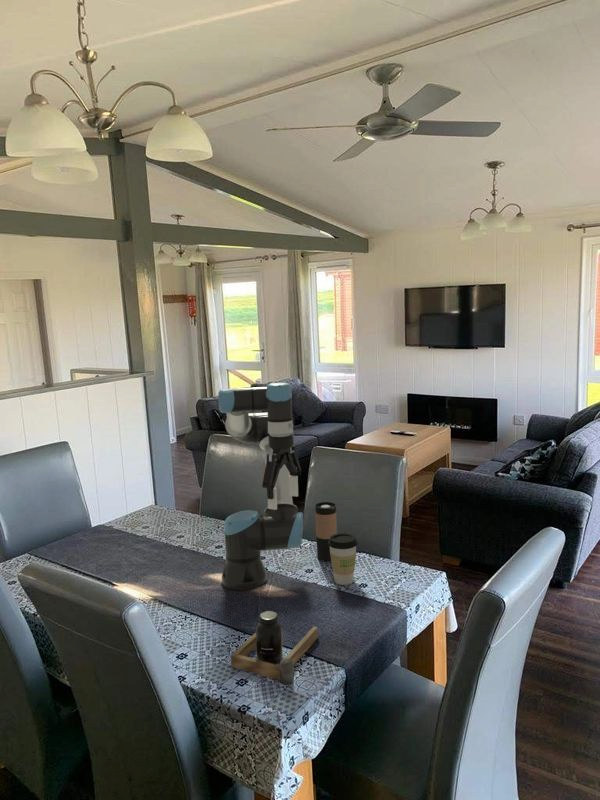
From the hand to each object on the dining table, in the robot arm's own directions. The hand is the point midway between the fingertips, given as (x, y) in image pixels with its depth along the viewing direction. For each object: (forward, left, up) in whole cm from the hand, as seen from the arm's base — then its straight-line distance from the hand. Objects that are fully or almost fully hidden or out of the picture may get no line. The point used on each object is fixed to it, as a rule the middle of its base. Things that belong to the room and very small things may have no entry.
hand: (283, 502), depth 179 cm
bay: (+13, -27, -32) cm, 44 cm away
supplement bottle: (+11, -30, -32) cm, 45 cm away
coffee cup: (+11, +19, -32) cm, 39 cm away
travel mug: (-2, +34, -32) cm, 47 cm away
